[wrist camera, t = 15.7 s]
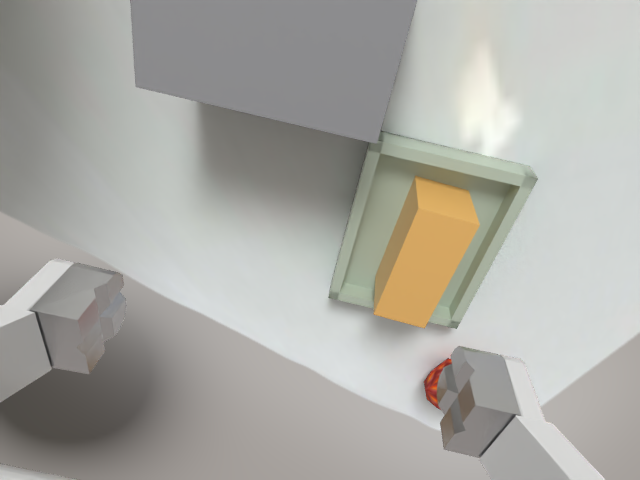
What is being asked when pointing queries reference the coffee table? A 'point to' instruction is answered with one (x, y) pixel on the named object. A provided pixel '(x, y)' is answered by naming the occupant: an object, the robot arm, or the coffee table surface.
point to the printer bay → (276, 57)
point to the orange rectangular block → (424, 251)
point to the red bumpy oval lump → (434, 382)
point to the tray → (388, 199)
